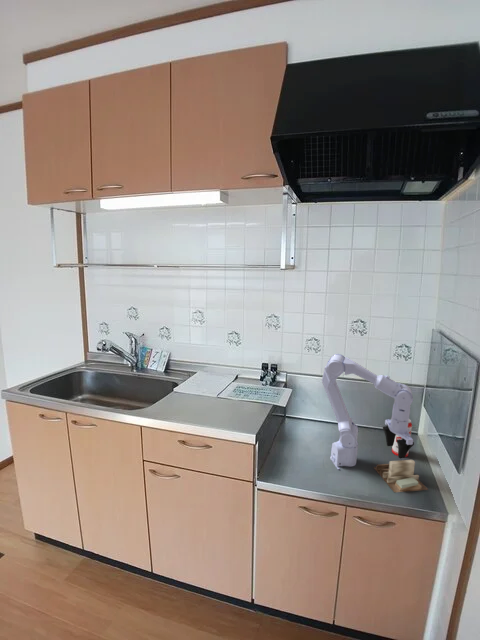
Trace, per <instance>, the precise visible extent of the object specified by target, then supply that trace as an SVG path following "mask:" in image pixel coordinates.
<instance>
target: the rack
mask: <svg viewBox="0 0 480 640" xmlns="http://www.w3.org/2000/svg"><path fill="white" fill-rule="evenodd" d="M373 469H374V470H375V471H376V473H377V474H378V475H379V476H380V477H381V478H382V480H383V481H384V482H385V483H386V484H387V486H388V487H389V488H390V489H391V490H392V492H393V493H405V492H406V493H407V492H415V491H429V488H428V487H427V486H426V485H424V483H423V482H422V481H420V479H419V478H420V475H419V474H413V475H408V476H394V477H388V471H389V463H382V464H380V463H379V464H376V466H373ZM412 477H413V478H414V479H415V480H417V481H418V483H419V484H420V485H421V489H417V490H405V491H400V490H399V489H398V488H397V487H396V485H395V482H397V480H402V479H407V478H412Z"/></svg>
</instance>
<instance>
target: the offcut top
mask: <svg viewBox="0 0 480 640" xmlns="http://www.w3.org/2000/svg"><path fill="white" fill-rule="evenodd" d="M396 484H397V485H399V486H400V487H401V488H406V487H411V486H416V485H418V481H417V480H415V479H414V478H413V477H412V478H407V479H402V480H397V482H396Z"/></svg>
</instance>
